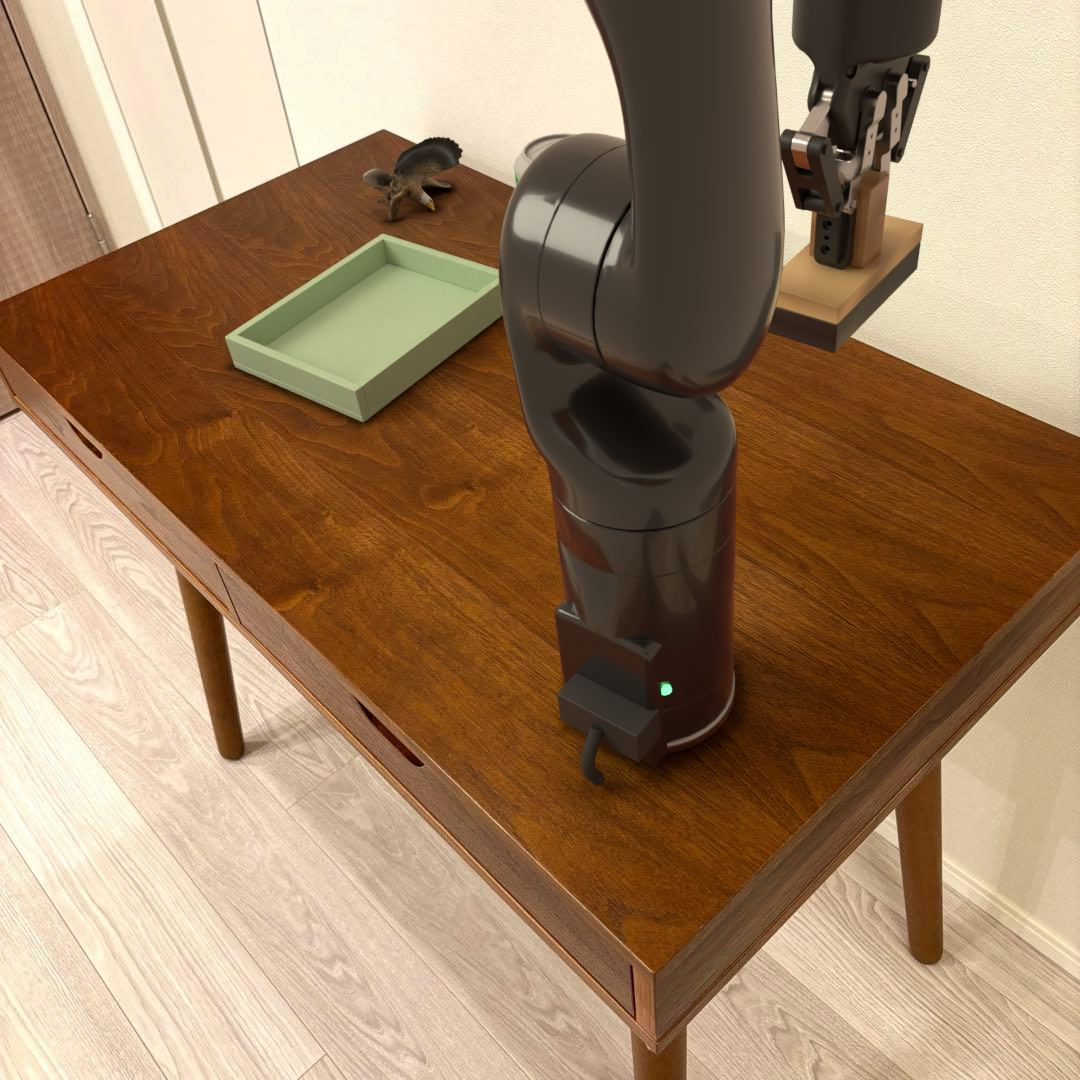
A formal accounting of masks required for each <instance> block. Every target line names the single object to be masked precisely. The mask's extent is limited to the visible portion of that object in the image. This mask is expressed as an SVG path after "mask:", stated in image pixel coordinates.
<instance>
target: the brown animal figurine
mask: <svg viewBox="0 0 1080 1080" xmlns="http://www.w3.org/2000/svg"><path fill="white" fill-rule="evenodd" d="M463 152H464V150H463V148H462V147H460V144H459V143H457V142H456V141H455V140H454V139H451V138H450V137H445V136H433V137H428V138H425V139H423V140H422V141H420V142H418V143H416V144H414V145H412V146H410V147H409V148H407V149H405V150H403V151H402V152H400V153H399V155H398V157H397V159H396V162H395V165H394V167H393V173H392V172H391V173H389V172H386V171H384V170H382V169H380V168H377V167H376V168H372V169H370V170H368V171H367V172H365V173H363V175H362V179H363V182H364V183H365V184H367V185H368V187H369V186H370V187H371V188H373V189H374V190H375V189H376V190H378V191H380V192H381V193H382V194H383V195H384V198H385V199H383V198H376V199H375V202H376V203H378V204H383V205H385V206H386V207H387V209H388V220H389V221H390V222H392V221H393V220H394V219H395V218H396V216H397V215H398V214H399V211H400V204H401V202H402V201H403V199H405V198H407V199H409V200H413V201H415V202H418V203H421V204H422V205H424V206H426V207H428V208H429V209H431V211H433V212H434V211H435V210H436V208H435V205H434V201H433V199H432V198H431V197H430V195H428V194H427V193H426V192H425V190H423V188H434V187H436V188H444V189H451V188H452V185H451V184H450V183H447V182H445V181H437V180H436V179H435V178H433V177H434V176H437V175H439V174H441V173H442V172H444V171H448V170H451V169H453V168H455V167H457V166H458V165H459V164H460V159H461V158H462V156H463V154H462V153H463ZM386 187H387V188H388V189H389V191H388V189H387V188H386Z"/></svg>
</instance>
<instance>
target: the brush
mask: <svg viewBox="0 0 1080 1080" xmlns="http://www.w3.org/2000/svg"><path fill="white" fill-rule="evenodd" d="M838 175H839V179H840V184H841V188H842V190H843V187H844V180H845V178H844V176H843V174H841V173H838ZM890 175H891V174H887V173H882V172H878V171H873V170H867V171H866V172H864V173H862V177H861V184H860V191H859V197H858V204H857V207H856V209H857V215H856V226H855V236H854V247H853V257H852V262H851V263H850V264H849V265H848V266H847V267H846V268H844V269H842V270H840V269H836V268H832V267H829V266H825V265H821V264H819V263H817V262H816V261H815V259H814V243H815V229H816V214H817V213H816V212H812V211H811V220H810V234H809V238H810V239H809V243H807V244H806V245H805V246H804V247H803V248H802V249H800V250H799V251H798V253H796V254H795V255H794V256H793V257H792V258H791V259H790V260H789V261H788V262H786V263H785V264H783V271H782V278H781V284H780V289H779V295H778V300H777V305H776V308H775V312H774V315H773V318H772V321H771V325H770V327H769V330H768V332H767V334H768V333H769V334H771V335H775V336H777V337H781V338H785V339H788V340H791V341H794V342H797V343H799V344H800V343H801V344H804V345H807V346H810V347H814V348H817V349H819V350H823V351H826V352H829V353H833V354H835V353H836V352H837V351H839V349H840V348H841V347H842V346H844V344H845V343H846V342H847V341H848V340H849V339H850V338H851V337H852V336H853V335H854V334H855V333H856V332H857V331H858V330H859V329H860V328H861V327H862V326H863V325H864V324H865V323H866V322H867V321H868V320H869V318H871V317H872V316H873V315H874V314H875V313H876V311H877V310H878V309H879V308H880V307H881V306H883V304H884V303H885V302H887V300H888V299H889V298H890V297H891V296H892V295H893V294H894V293H895V292H896V291H897V290H898V289H899V288H900V287H901V286H902V285H903V284H904V283H905V282H906V281H907V280H908V279H909V278H910V277H911V276H912V275H913V274H914V272H915V271H917V269H918V266H919V258H920V251H921V244H922V238H923V231H924V223H922V222H919V221H914V220H910V219H905V218H902V217H897V216H893V215H889V214H886V212H887V211H886V210H887V203H888V202H887V201H888V193H889V184H890V178H891V177H890Z"/></svg>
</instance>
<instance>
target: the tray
mask: <svg viewBox="0 0 1080 1080" xmlns="http://www.w3.org/2000/svg"><path fill="white" fill-rule="evenodd" d="M501 317H503V313H502V307H501V298H500V290H499V268H495V267H491V266H489V265H485V264H482V263H478V262H476V261H472V260H469V259H466V258H462V257H460V256H456V255H453V254H450V253H447V252H445V251H444V252H443V251H441V250H437V249H435V248H434V249H433V248H431V247H428V246H425V245H421V244H417V243H415V242H411V241H409V240H405V239H401V238H398V237H395V236H393V235H389V234H385V233H381V234H379V235H378V236H377V237H375V238H373V239H372V240H370V241H369V242H367V243H365V244H364V245H362V246H361V247H359V248H358V249H356V250H355V251H353V252H352V253H350V254H349V255H347V256H346V257H344V258H343V259H341V260H339V261H337V263H335V264H333V265H332V266H330V267H329V268H327V269H325V270H324V271H323V272H321V273H320V274H318V275H317V276H315V277H314V278H312V279H310V280H309V281H308V282H306V283H304V284H302V285H301V286H300V287H298V288H297V289H295V290H294V291H292V292H291V293H289V294H288V295H286V296H285V297H283V298H282V299H280V300H278V301H277V302H275V303H274V304H272V305H271V306H269V307H268V308H266V309H265V310H263V311H262V312H260V313H259V314H257V315H256V316H253V318H251V319H250V320H248V321H246V322H245V323H243V324H242V325H240V326H239V327H237V328H235V329H234V330H232V331H231V332H230V333H228V334H226V335H225V337H224V340H225V342H226V345H227V348H228V351H229V354H230V357H231V360H232V363H233V365H234V368H236V369H239V370H241V371H242V372H245V373H247V374H250V375H252V376H255V377H257V378H259V379H261V380H263V381H266V382H268V383H270V384H273V385H275V386H278V387H280V388H282V389H285V390H288V391H289V392H292V393H294V394H296V395H299V396H300V397H303V398H306V399H307V400H310V401H313V402H315V403H317V404H319V405H322V406H325V407H327V408H329V409H331V410H334V411H336V412H337V413H340V414H342V415H345V416H348V417H350V418H352V419H354V420H357V421H359V422H361V423H365V422H367V421H368V420H369V419H370V418H372V417H373V416H375V414H377V413H378V412H380V411H381V410H383V408H385V407H386V406H387V405H388V404H389V403H391V402H392V401H394V400H395V399H397V397H399V396H400V395H401V394H402V393H404V392H405V391H407V390H408V389H410V387H412V386H413V385H414V384H416V383H417V382H418V381H420V380H421V379H422V378H423V377H425V376H426V375H427V374H429V373H430V372H432V370H433V369H435V368H437V366H439V365H440V364H441V363H443V362H444V361H445V360H446V359H448V358H449V357H451V356H452V355H453V354H454V353H456V352H457V351H458V350H459V349H461V348H463V346H465V345H466V344H467V343H469V342H470V341H471V340H473V338H475V337H476V336H478V335H479V334H480V333H481V332H483V331H484V330H485V329H486V328H488V327H489V326H490V325H492V324H493V323H494V322H495V321H497V320H498V319H500V318H501Z"/></svg>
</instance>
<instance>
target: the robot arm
mask: <svg viewBox="0 0 1080 1080" xmlns="http://www.w3.org/2000/svg"><path fill="white" fill-rule="evenodd" d="M583 2H584V5H585V6H586V8H587V11H588V13H589V15H590V17H591V19H592V21H593V23H594V25H595V28H596V30H597V32H598V35H599V38H600V40H601V42H602V43H601V44H602V45H603V48H604V51H605V53H606V57H607V59H608V61H609V66H610V69H611V73H612V76H613V79H614V84H615V87H616V90H617V95H618V96H617V97H618V100H619V106H620V112H621V117H622V123H623V130H624V131H623V132H624V138H622V137H618V136H614V135H610V134H605V133H597V132H583V133H577V134H576V133H575V134H576V135H572V136H568V137H565V138H563V139H561V140H558V141H556V142H554V143H553V144H551V145H550V146H548V147H547V148H546V149H545V150H544V151H542V152H541V153H540V154H539V155H538V156H537V157H536V158H535V159H534V160H533V161H532V162H531V163H530V164H529V166H528V167H527V168H526V170H525V171H524V173H523V174H522V176H521V177H520V179H519V181H518V183H517V185H516V184H515V187H514V188H513V191H512V193H511V196H510V199H509V201H508V203H507V206H506V210H505V213H504V216H503V221H502V224H501V232H500V237H499V244H498V245H499V246H498V270H499V290H500V298H501V307H502V313H503V315H502V318H503V323H504V330H505V334H506V340H507V345H508V349H509V353H510V354H509V355H510V358H511V363H512V364H511V365H512V368H513V369H512V370H513V374H514V379H515V383H516V388H517V393H518V398H519V403H520V408H521V413H522V417H523V421H524V425H525V428H526V431H527V434H528V436H529V438H530V440H531V442H532V444H533V446H534V447H535V449H536V451H537V453H538V454H539V455H540V457H541V458H542V460H543V461H544V463H545V465H546V467H547V473H548V479H549V484H550V492H551V498H552V506H553V507H552V508H553V516H554V524H555V532H556V541H557V548H558V555H559V556H558V557H559V563H560V571H561V579H562V587H563V588H562V589H563V595H564V599H563V601H561V602H560V603H559V604H558V606H556V608H555V609H554V611H553V615H554V616H553V617H554V623H555V631H556V638H557V644H558V652H559V659H560V666H561V674H562V682H563V687H562V688H560V690H559V691H558V692H557V693H556V697H557V703H558V711H559V718H560V721H561V722H563V723H565V724H566V725H569V726H570V727H572V728H574V729H576V730H578V731H579V732H582V733H583V734H585V735H586V736H587V737H586V739H585V741H584V745H583V748H582V753H581V757H580V767H581V771H582V774H583V776H584V778H586V779H587V780H588V781H590V783H591V784H592V785H594V786H596V787H598V786H602V785H603V784H605V781H606V777H605V775H604V774H603V772H602V771H601V770H599V769H598V768H597V767H596V758H597V753H598V750H599V747H600V744H603V745H605V746H607V747H608V748H610V749H612V750H614V751H616V752H617V753H620V754H622V755H623V756H625V757H627V758H629V759H630V760H632V761H634V762H636V763H638V764H639V763H640V762H641V761H642V762H645V763H646V764H648V765H649V766H652V767H653V766H658V765H659V763H660V762H661V761H662V760H663V759H664V758H665V757H666V756H668V754H674V753H678V752H681V751H684V750H688V749H691V748H693V747H695V746H698V745H699V744H701V743H704V741H706V740H708V739H709V738H711V737H712V736H713V735H714V734H716V732H718V731H719V729H721V727H722V726H723V725H724V723H725V722H727V721H726V720H727V719H728V718H729V715H730V714H731V712H732V709H733V706H734V701H735V694H736V675H735V670H734V669H735V667H734V665H735V663H734V661H735V660H734V659H735V599H736V597H735V595H736V594H735V592H736V591H735V590H736V589H735V588H736V533H737V531H736V529H737V527H736V526H737V524H736V523H737V494H738V493H737V490H738V489H737V487H738V486H737V484H738V461H739V459H738V457H739V453H738V451H739V440H738V439H739V437H738V429H737V425H736V421H735V419H734V415H733V413H732V411H731V409H730V408H729V405H728V404H727V402H726V401H725V400H724V399H723V397H722V396H721V395H720V394H719V393H721V392H723V391H724V390H727V389H728V388H729V387H731V386H732V385H734V384H735V383H736V382H737V381H738V380H739V379H740V378H741V377H742V376H743V375H744V374H745V373H746V371H747V370H748V369H749V367H750V366H751V364H753V361H754V360H755V358H757V355H758V354H759V352H760V351H761V348H762V347H763V344H764V342H765V339H766V337H767V336H768V335H767V334H768V330H769V327H770V325H771V321H772V318H773V315H774V312H775V308H776V305H777V300H778V295H779V289H780V284H781V278H782V271H783V266H784V258H785V257H784V255H785V236H786V235H785V234H786V213H785V212H786V211H785V193H784V173H783V169H784V172H785V176H786V179H787V180H786V181H787V183H788V187H789V189H790V194H791V196H792V197H791V198H792V201H793V203H794V207H795V209H796V210H801V211H808V212H811V213H812V212H816V213H817V214H816V229H815V243H814V259H815V261H816V262H817V263H819V264H821V265H825V266H829V267H832V268H836V269H840V270H842V269H844V268H846V267H847V266H848V265H849V264H850V263H851V262H852V257H853V247H854V236H855V226H856V215H857V209H856V207H857V204H858V197H859V191H860V184H861V177H862V173H864V172H866V171H867V170H873V171H878V172H882V173H887V174H890V172H891V163H894V164H899V163H900V162H901V161H902V159H903V157H904V155H905V153H906V152H905V151H906V148H907V145H908V141H909V138H910V134H911V131H912V127H913V124H914V120H915V117H916V114H917V110H918V107H919V104H920V100H921V97H922V93H923V90H924V87H925V84H926V80H927V77H928V74H929V73H928V72H929V70H930V69H931V56H930V55H927V54H922V52H923V51H925V50H926V49H928V47H930V46H931V45H932V44H933V43H934V41H935V40H936V38H937V36H938V33H939V30H940V29H939V28H940V23H941V13H942V6H943V0H792V15H791V16H792V17H791V38H792V41H793V44H794V45H795V46H796V48H797V49H798V50H799V51H800V52H802V53H804V54H805V55H806V56H807V57H808V58H809V60H810V61H811V63H812V65H813V68H814V69H813V72H812V77H811V83H810V86H809V90H808V94H807V100H806V103H807V104H806V105H807V111H808V115H807V117H806V118H805V120H804V121H803V123H802V125H801V127H800V129H799V130H795V129H790V128H785V129H784V130H783V131H782V132H781V129H780V127H781V126H780V115H779V98H778V84H777V69H776V55H775V54H776V53H775V38H774V37H775V36H774V21H773V19H774V18H773V0H583ZM920 53H921V54H920ZM839 150H840V151H839ZM838 173H841V174H843V176H844V178H845V180H844V187H843V190H842V188H841V184H840V179H839V175H838ZM890 175H891V174H890Z"/></svg>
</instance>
